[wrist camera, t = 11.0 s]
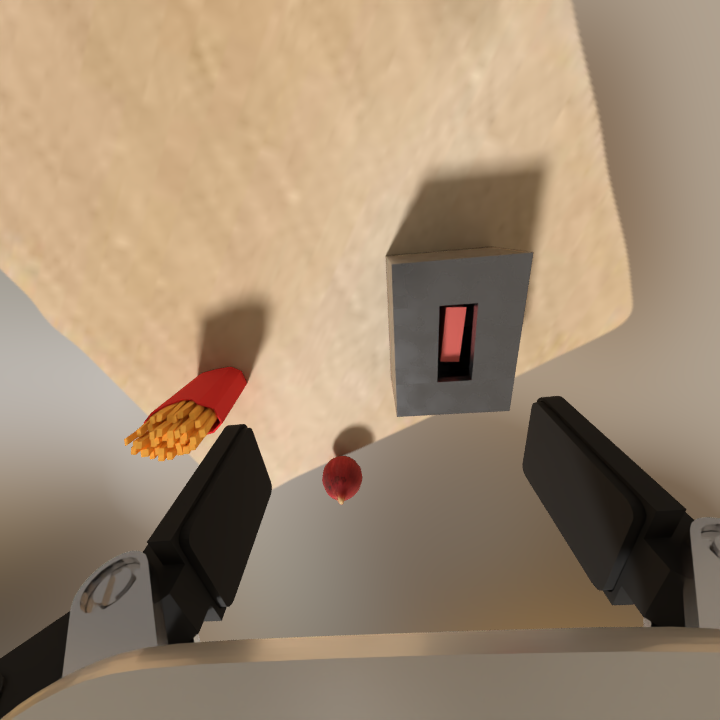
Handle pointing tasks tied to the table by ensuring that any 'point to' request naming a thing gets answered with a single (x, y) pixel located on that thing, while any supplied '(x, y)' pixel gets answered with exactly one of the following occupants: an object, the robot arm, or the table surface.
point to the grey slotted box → (480, 334)
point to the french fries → (188, 415)
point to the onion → (342, 478)
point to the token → (450, 332)
